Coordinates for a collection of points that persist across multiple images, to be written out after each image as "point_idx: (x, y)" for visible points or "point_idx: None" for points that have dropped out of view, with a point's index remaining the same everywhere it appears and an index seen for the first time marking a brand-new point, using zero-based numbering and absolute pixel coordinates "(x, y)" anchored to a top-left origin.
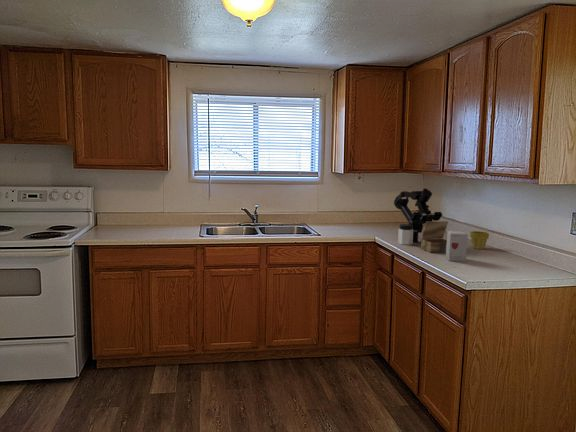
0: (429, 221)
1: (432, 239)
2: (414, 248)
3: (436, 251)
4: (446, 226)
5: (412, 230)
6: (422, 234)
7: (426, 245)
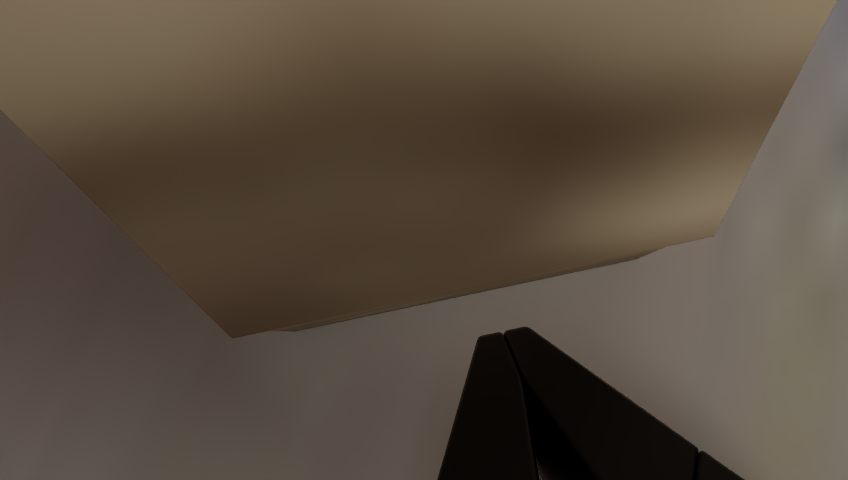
0: (611, 451)
1: None
2: (725, 297)
3: None
4: (16, 85)
5: None
6: (746, 152)
7: None
